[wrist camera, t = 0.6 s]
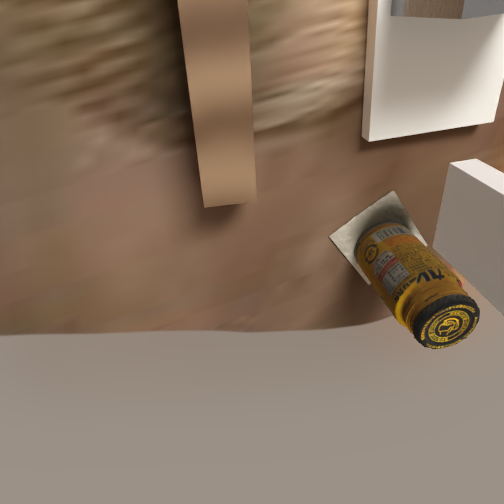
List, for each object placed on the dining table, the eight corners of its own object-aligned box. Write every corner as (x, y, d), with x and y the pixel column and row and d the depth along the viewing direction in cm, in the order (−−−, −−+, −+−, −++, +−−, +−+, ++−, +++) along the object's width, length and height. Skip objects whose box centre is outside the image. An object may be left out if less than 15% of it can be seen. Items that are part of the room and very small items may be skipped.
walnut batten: (144, -252, 20) (136, -320, 16) (221, -251, 20) (233, -317, 16) (200, 182, 33) (204, 207, 29) (246, 177, 33) (256, 201, 29)
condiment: (368, 283, 42) (427, 370, 32) (328, 235, 38) (383, 317, 28) (426, 244, 41) (508, 322, 31) (391, 188, 36) (474, 258, 26)
